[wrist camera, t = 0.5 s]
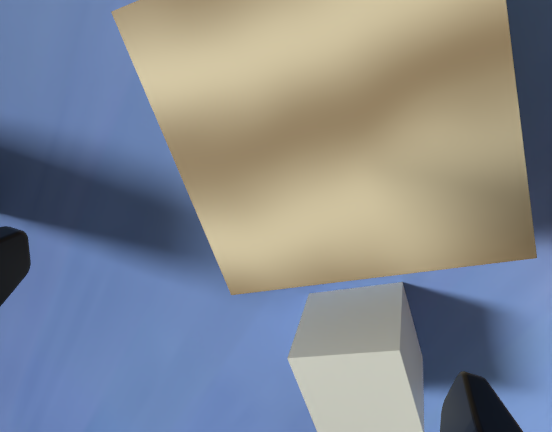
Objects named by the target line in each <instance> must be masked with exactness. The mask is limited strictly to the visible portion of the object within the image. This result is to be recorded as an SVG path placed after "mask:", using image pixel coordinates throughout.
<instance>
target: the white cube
mask: <svg viewBox="0 0 552 432" xmlns="http://www.w3.org/2000/svg"><path fill="white" fill-rule="evenodd" d="M288 361H289V363H290V366H291V368H292V371H293V373H294V375H295V378H296V380H297V383H298V385H299V388H300V390H301V393H302V395H303V398H304V400H305V403H306V405H307V408H308V410H309V412H310V415H311V417H312V420H313V422H314V425H315V427H316V430H317V432H424V394H423V357H422V353H421V349H420V345H419V342H418V338H417V334H416V330H415V327H414V323H413V319H412V315H411V312H410V308H409V304H408V300H407V297H406V293H405V289H404V285H403V282H399V283H391V284H383V285H375V286H367V287H359V288H351V289H343V290H335V291H327V292H318V293H310V294H309V295H308V298H307V301H306V304H305V307H304V310H303V313H302V316H301V319H300V322H299V325H298V328H297V331H296V334H295V337H294V340H293V343H292V346H291V349H290V352H289V355H288Z"/></svg>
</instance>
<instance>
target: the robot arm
mask: <svg viewBox="0 0 552 432" xmlns="http://www.w3.org/2000/svg"><path fill="white" fill-rule="evenodd" d="M30 264H31V262H30V252H29V243H28V236H27V235H26V233H25V232H24V231H21V230H18V229H15V228H12V227H8V226H4V227H0V306H1V305H2V304H3V303H4V301H5V300H6V299H7V298H8V297H9V295H10V294H11V293H12V292H13V291H14V289H15V288H16V287H17V286H18V285H19V283H20V282H21V281H22V280H23V278H24V277H25V276H26V275H27V273H28V271H29V269H30ZM440 432H523V431H522V429H521V428H520V427H519V425H518V424H517V422H516V421H515V420H514V418H513V417H512V415H511V414H510V413H509V411H508V410H507V408H506V407H505V406H504V404H503V403H502V401H501V400H500V398H499V397H498V396H497V394H496V393H495V391H494V390H493V389H492V387H491V386H490V384H489V383H488V382H487V380H486V379H485V378H483V377H481V376H478V375H475V374H472V373H468V372H465V371H463V372H460V373H459V374H458V375H457V377H456V379H455V381H454V383H453V385H452V387H451V389H450V390H449V392H448V394H447V396H446V398H445V400H444V403H443V407H442V412H441V424H440Z"/></svg>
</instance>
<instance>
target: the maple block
mask: <svg viewBox="0 0 552 432" xmlns="http://www.w3.org/2000/svg"><path fill="white" fill-rule="evenodd" d="M112 15H113V17H114V20H115V22H116V24H117V27H118V29H119V31H120V34H121V36H122V38H123V41H124V43H125V45H126V48H127V50H128V52H129V55H130V57H131V60H132V62H133V64H134V67H135V69H136V71H137V74H138V76H139V78H140V81H141V83H142V85H143V88H144V90H145V93H146V95H147V97H148V100H149V102H150V104H151V107H152V109H153V111H154V114H155V116H156V118H157V121H158V123H159V126H160V128H161V130H162V133H163V135H164V137H165V140H166V142H167V144H168V147H169V149H170V151H171V154H172V156H173V159H174V161H175V163H176V166H177V168H178V170H179V173H180V175H181V177H182V180H183V182H184V184H185V187H186V189H187V192H188V194H189V196H190V199H191V201H192V203H193V206H194V208H195V210H196V213H197V215H198V217H199V220H200V222H201V225H202V227H203V229H204V232H205V234H206V236H207V239H208V241H209V243H210V246H211V248H212V250H213V253H214V255H215V257H216V260H217V262H218V265H219V267H220V269H221V272H222V274H223V276H224V279H225V281H226V283H227V286H228V288H229V290H230V293H231V295H236V294H244V293H252V292H260V291H269V290H277V289H285V288H293V287H302V286H310V285H318V284H326V283H335V282H343V281H351V280H359V279H368V278H376V277H384V276H392V275H401V274H409V273H417V272H425V271H434V270H442V269H450V268H458V267H467V266H475V265H483V264H491V263H500V262H508V261H516V260H524V259H533V258H537V254H536V246H535V238H534V229H533V221H532V213H531V204H530V196H529V188H528V179H527V171H526V163H525V155H524V146H523V138H522V130H521V121H520V113H519V105H518V96H517V88H516V80H515V71H514V63H513V55H512V47H511V38H510V30H509V22H508V13H507V5H506V0H138V1H136V2H134V3H131V4H129V5H126V6H124V7H122V8H119V9H117V10H114V11H112Z"/></svg>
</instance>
